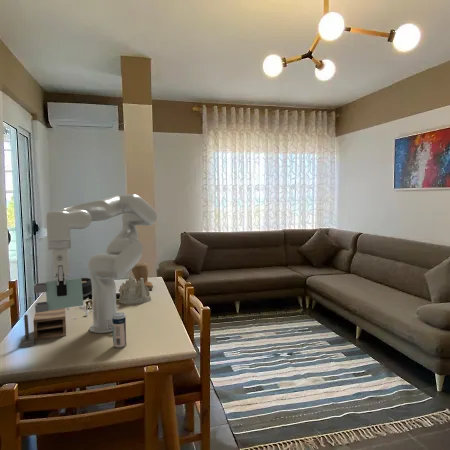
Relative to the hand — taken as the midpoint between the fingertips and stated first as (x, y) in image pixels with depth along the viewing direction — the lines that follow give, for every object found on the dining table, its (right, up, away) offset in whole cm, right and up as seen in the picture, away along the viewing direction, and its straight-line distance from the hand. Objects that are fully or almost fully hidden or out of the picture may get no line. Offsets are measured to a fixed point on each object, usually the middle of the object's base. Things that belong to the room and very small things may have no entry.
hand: (62, 294), depth 131 cm
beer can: (+20, -20, +2) cm, 29 cm away
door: (-1, -5, 0) cm, 5 cm away
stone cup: (+9, -13, +87) cm, 88 cm away
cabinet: (-13, -19, +13) cm, 26 cm away
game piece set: (-14, -17, +41) cm, 46 cm away
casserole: (-24, -15, +72) cm, 78 cm away
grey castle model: (+11, -15, +62) cm, 64 cm away
